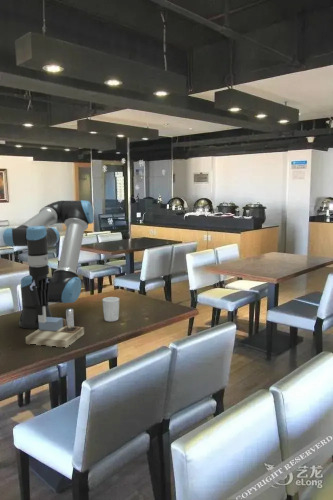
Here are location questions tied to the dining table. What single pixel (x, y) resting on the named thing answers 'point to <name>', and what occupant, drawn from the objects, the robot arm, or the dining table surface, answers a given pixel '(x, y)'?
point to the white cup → (111, 308)
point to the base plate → (55, 336)
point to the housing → (51, 324)
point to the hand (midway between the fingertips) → (42, 321)
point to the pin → (70, 319)
